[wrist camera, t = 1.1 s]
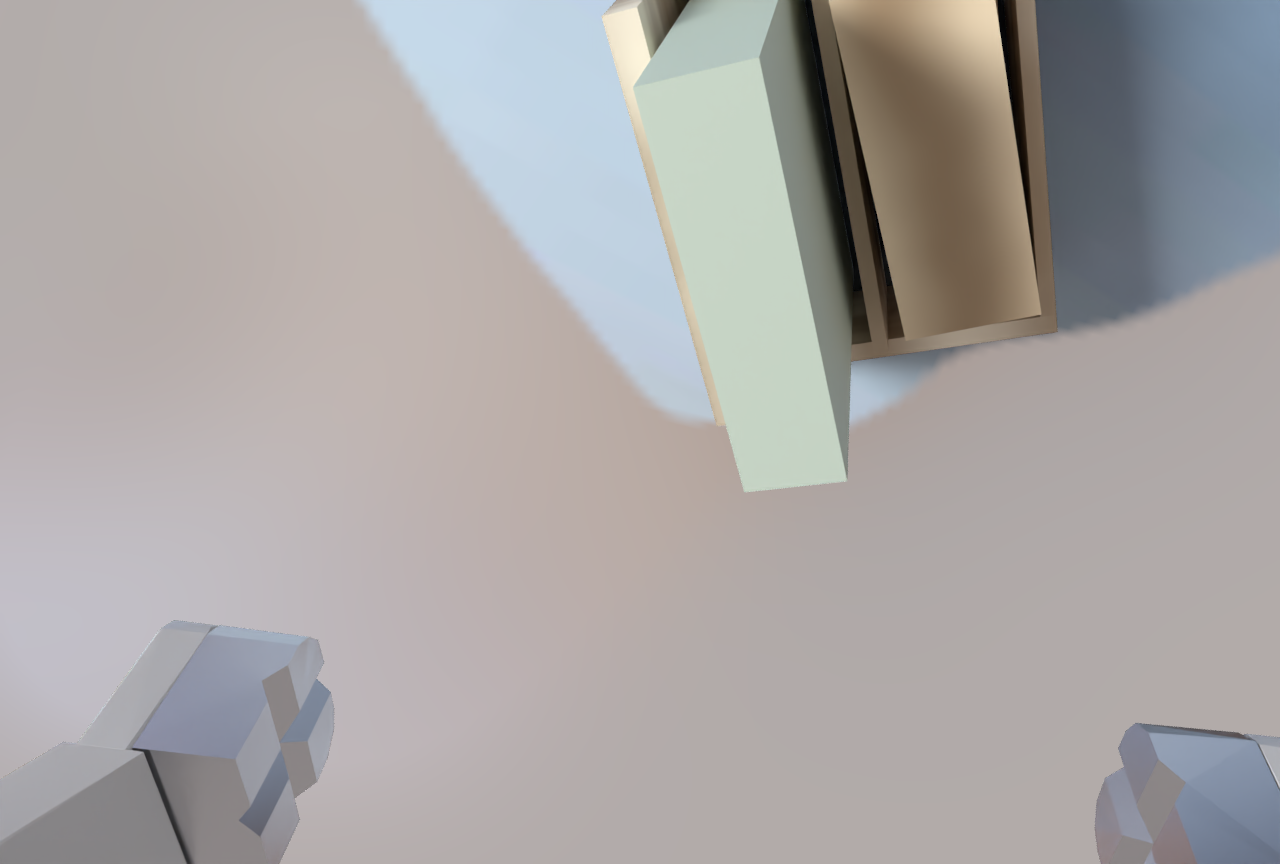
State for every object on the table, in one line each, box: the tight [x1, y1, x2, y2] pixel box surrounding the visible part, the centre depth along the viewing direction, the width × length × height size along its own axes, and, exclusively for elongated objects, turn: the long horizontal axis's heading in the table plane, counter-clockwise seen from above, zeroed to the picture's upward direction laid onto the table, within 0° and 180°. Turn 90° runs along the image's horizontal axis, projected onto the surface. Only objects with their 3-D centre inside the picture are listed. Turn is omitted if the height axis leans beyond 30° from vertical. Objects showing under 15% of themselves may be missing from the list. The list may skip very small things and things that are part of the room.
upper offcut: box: [829, 0, 1041, 341], centre depth 37 cm, size 5×13×4 cm, turn 19°
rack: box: [602, 0, 1058, 426], centre depth 39 cm, size 13×18×10 cm
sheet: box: [633, 0, 854, 492], centre depth 37 cm, size 4×14×16 cm, turn 16°
